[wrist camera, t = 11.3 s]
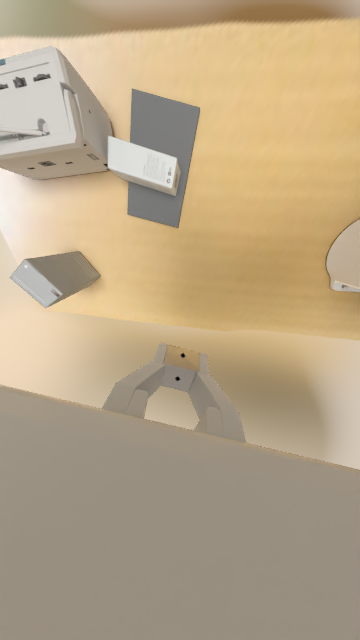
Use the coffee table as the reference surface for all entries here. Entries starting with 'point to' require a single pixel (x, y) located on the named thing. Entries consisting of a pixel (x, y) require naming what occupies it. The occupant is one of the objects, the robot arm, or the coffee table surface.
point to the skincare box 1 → (54, 276)
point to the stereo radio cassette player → (49, 118)
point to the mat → (165, 137)
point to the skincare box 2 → (143, 166)
